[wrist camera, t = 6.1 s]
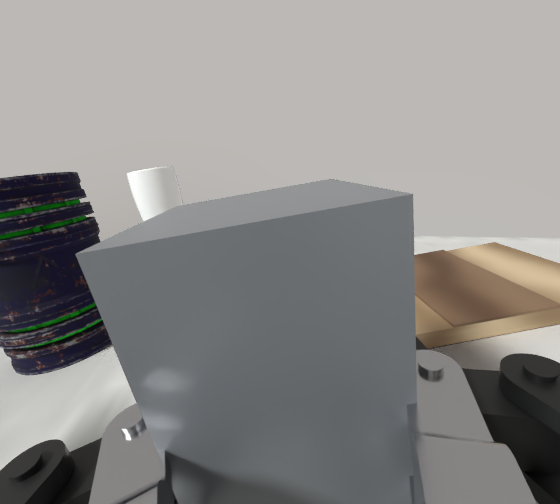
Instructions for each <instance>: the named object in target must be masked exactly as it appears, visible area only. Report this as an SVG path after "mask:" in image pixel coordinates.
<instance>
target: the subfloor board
mask: <svg viewBox="0 0 560 504" xmlns="http://www.w3.org/2000/svg"><path fill="white" fill-rule="evenodd" d="M414 273H415V323H416V337H417V338H418V339H419V340H420V341H421V342H422V343H423V344H424V346H425V347H426V348H427V349H428V348H433V347H439V346H444V345H449V344H455V343H460V342H465V341H471V340H476V339H481V338H487V337H492V336H497V335H503V334H508V333H513V332H519V331H524V330H530V329H535V328H540V327H546V326H551V325H556V324H560V264H559V263H556V262H553V261H550V260H547V259H544V258H541V257H538V256H535V255H532V254H529V253H526V252H523V251H520V250H516V249H513V248H510V247H507V246H504V245H501V244H498V243H495V242H494V243H488V244H483V245H477V246H472V247H466V248H461V249H455V250H450V251H444V250H440V251H434V252H429V253H423V254H418V255H414Z"/></svg>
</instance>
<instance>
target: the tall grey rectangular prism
mask: <svg viewBox="0 0 560 504" xmlns="http://www.w3.org/2000/svg"><path fill="white" fill-rule="evenodd" d="M75 255H76V257H77V259H78V262H79V264H80V267H81V269H82V272H83V274H84V276H85V279H86V281H87V284H88V286H89V288H90V291H91V293H92V296H93V298H94V301H95V303H96V305H97V308H98V310H99V313H100V315H101V318H102V320H103V322H104V325H105V327H106V330H107V332H108V335H109V337H110V339H111V342H112V344H113V347H114V349H115V351H116V354H117V356H118V359H119V361H120V364H121V366H122V368H123V371H124V373H125V376H126V378H127V381H128V383H129V385H130V388H131V390H132V393H133V395H134V398H135V400H136V402H137V405H138V407H139V410H140V412H141V414H142V417H143V419H144V422H145V424H146V427H147V429H148V431H149V434H150V436H151V439H152V441H153V444H154V446H155V448H156V451H157V452H159V451H164V450H165V453H166V455H167V458H168V460H169V463H170V465H171V471H172V487H173V492H174V494H175V497H176V499H177V502H178V504H411V497H410V484H409V476H413V461H412V452H411V445H410V438H409V431H408V425H407V405H408V404H414V403H417V373H416V323H415V273H414V224H413V194H409V193H404V192H399V191H394V190H388V189H383V188H377V187H372V186H366V185H361V184H356V183H350V182H345V181H339V180H334V179H329V180H323V181H317V182H311V183H306V184H300V185H294V186H289V187H283V188H277V189H272V190H267V191H260V192H255V193H250V194H244V195H238V196H232V197H226V198H221V199H215V200H209V201H204V202H198V203H192V204H187V205H181V206H176V207H174V208H172V209H169V210H167V211H165V212H163V213H161V214H159V215H157V216H155V217H152V218H150V219H148V220H146V221H144V222H142V223H140V224H138V225H136V226H133V227H131V228H129V229H127V230H125V231H123V232H121V233H119V234H117V235H114V236H112V237H110V238H108V239H106V240H104V241H102V242H100V243H97V244H95V245H93V246H91V247H89V248H87V249H85V250H83V251H80V252H78V253H76V254H75Z"/></svg>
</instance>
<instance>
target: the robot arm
mask: <svg viewBox="0 0 560 504" xmlns="http://www.w3.org/2000/svg"><path fill="white" fill-rule="evenodd" d="M416 373H417V403H414V404H408V405H407V425H408V431H409V438H410V445H411V452H412V461H413V476H409V484H410V497H411V504H537V503H536V501H537V502H538V503H539V504H560V363H558V362H556V361H554V360H551V359H548V358H545V357H542V356H538V355H532V354H511V355H508V356H506V357H504V358H503V359H502V360H501V362H500V371H488V370H472V369H464V368H461V366H460V365H459V364H458V363H457V362H456V361H455V360H454V359H452V358H451V357H449V356H447V355H445V354H443V353H440V352H437V351H432V350H428V349H427V348H426V347H425V346H424V344H423V343H422V342H421V341H420V340H419V339H418V338H417V337H416ZM535 500H536V501H535ZM0 504H178V502H177V499H176V497H175V494H174V492H173V487H172V471H171V465H170V463H169V460H168V458H167V455H166V453H165V450H164V451H159V452H157V451H156V448H155V446H154V444H153V441H152V439H151V436H150V434H149V431H148V429H147V427H146V424H145V422H144V419H143V417H142V414H141V412H140V410H139V407H138V405H137V404H134V405H132V406H130V407H128V408H127V409H125V410H124V411H122V412H121V413H120V414H118V415H117V416H116V417H115V418H114V419H113V420H112V421H111V422H110V424H109V425H108V426H107V428H106V430H105V432H104V434H103V437H102V438H101V439H98V440H96V441H94V442H92V443H89V444H87V445H85V446H83V447H80V448H78V449H76V450H74V451H71V452H69V451H68V449H67V448H66V446H65V444H64V443H63V441H61V440H48V441H45V442H42V443H39V444H37V445H35V446H33V447H31V448H29V449H28V450H26V451H24V452H23V453H21V454H20V455H18V456H17V457H16V458H14V459H13V460H12V461H11V462H9V463H8V464H7V465H6V466H5V467H4V468H3V469H2V470H1V471H0Z"/></svg>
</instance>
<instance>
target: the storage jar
mask: <svg viewBox="0 0 560 504" xmlns="http://www.w3.org/2000/svg"><path fill="white" fill-rule="evenodd" d="M85 197H86V194H85V192H84V190H83V189H81V186H80V178H79V176H78V173H77V172H60V173H45V174H35V175H25V176H16V177H7V178H0V347H1V348H4V352H5V354H6V355H7V356H8V357H11V359H12V361H11V362H12V366H13V368H14V370H15V371H16V372H17V373H19V374H22V375H37V374H43V373H47V372H51V371H55V370H58V369H61V368H64V367H67V366H70V365H72V364H75V363H77V362H79V361H82V360H84V359H86V358H88V357H90V356H92V355H94V354H96V353H97V352H99V351H101V350H103V349H104V348H106V347H107V346H109V345H110V344H112V342H111V339H110V337H109V335H108V332H107V330H106V327H105V325H104V322H103V320H102V318H101V315H100V313H99V310H98V308H97V305H96V303H95V301H94V298H93V296H92V293H91V291H90V288H89V286H88V284H87V281H86V279H85V276H84V274H83V272H82V269H81V267H80V264H79V262H78V259H77V257H76V255H75V254H76V253H78V252H80V251H83V250H85V249H87V248H89V247H91V246H93V245H95V244H97V243H100V239H99V237H98V234H99V231H100V230H99V227H98V223H97V222H96V220H95V217H86V216H85V215H88V214H91V213H93V212H94V211H93V210H92V206H91V205H90V202H83V203H80V201H79V199H81V198H85Z"/></svg>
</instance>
